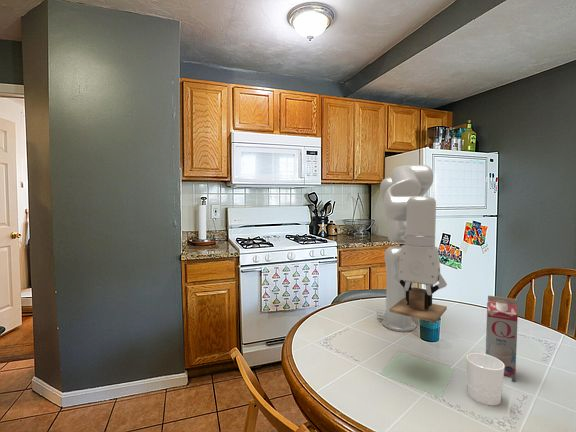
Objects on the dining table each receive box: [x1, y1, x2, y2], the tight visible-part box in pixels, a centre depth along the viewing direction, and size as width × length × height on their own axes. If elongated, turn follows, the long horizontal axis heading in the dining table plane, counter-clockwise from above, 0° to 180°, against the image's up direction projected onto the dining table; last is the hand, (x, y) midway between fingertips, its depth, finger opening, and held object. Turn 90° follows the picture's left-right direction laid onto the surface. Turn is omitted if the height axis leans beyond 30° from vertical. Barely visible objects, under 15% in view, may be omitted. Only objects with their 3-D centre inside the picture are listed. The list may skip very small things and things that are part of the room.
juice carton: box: [485, 295, 519, 383], centre depth 86 cm, size 7×7×22 cm
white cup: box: [465, 352, 505, 406], centre depth 74 cm, size 8×8×10 cm
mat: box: [378, 351, 455, 398], centre depth 86 cm, size 16×16×1 cm
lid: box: [389, 286, 448, 324], centre depth 85 cm, size 12×12×6 cm
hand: (418, 305), depth 85 cm, fingers closed on lid, 4 cm apart
